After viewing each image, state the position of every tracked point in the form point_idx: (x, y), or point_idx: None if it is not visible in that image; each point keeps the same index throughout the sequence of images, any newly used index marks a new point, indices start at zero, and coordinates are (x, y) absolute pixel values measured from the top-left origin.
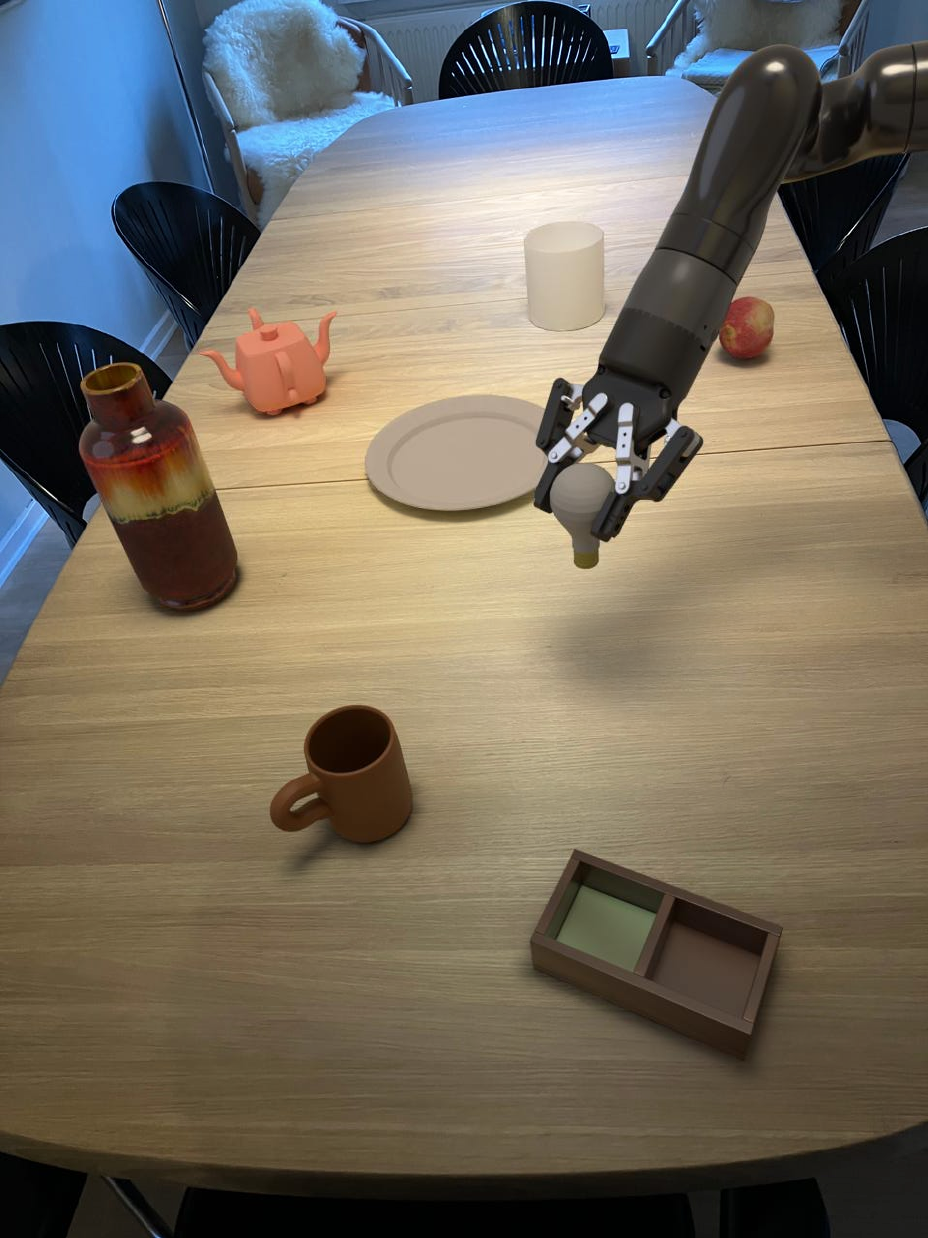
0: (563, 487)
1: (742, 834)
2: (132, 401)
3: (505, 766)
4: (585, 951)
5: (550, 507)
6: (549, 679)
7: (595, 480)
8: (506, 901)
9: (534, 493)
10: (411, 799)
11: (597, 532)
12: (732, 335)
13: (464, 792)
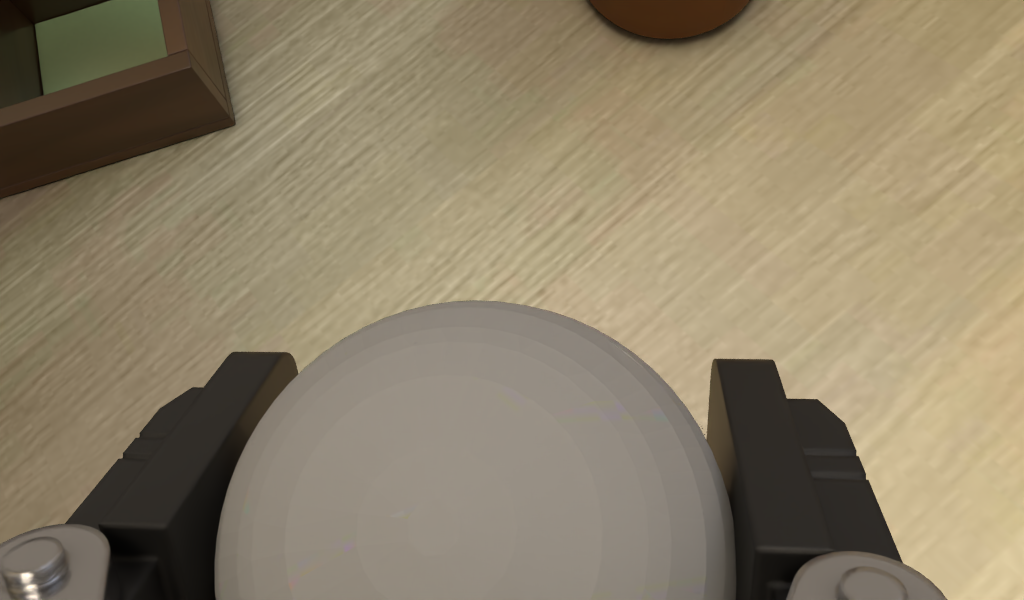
0: (501, 332)
1: (7, 411)
2: None
3: (524, 215)
4: (131, 22)
5: None
6: None
7: (281, 503)
8: (313, 15)
9: (834, 418)
10: (599, 2)
11: (232, 357)
12: None
13: (546, 113)
